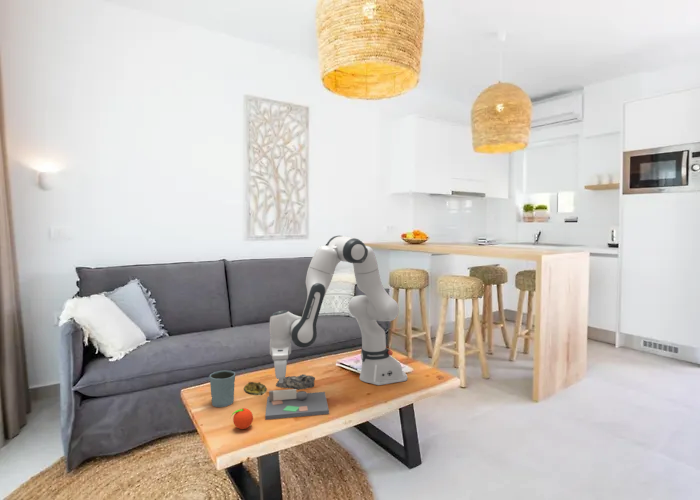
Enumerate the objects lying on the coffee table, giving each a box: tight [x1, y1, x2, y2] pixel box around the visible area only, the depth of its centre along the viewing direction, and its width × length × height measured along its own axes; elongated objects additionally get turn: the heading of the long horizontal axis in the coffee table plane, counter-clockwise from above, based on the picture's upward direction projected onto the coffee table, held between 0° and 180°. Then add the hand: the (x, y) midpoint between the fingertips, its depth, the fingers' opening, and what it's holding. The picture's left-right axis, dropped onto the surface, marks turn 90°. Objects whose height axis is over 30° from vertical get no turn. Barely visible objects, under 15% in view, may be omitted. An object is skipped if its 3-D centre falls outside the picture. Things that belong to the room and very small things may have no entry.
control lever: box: [268, 388, 308, 401], centre depth 167 cm, size 15×4×4 cm, turn 99°
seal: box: [243, 381, 268, 396], centre depth 182 cm, size 9×5×15 cm
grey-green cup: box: [209, 369, 236, 408], centre depth 169 cm, size 10×10×12 cm
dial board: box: [264, 391, 330, 421], centre depth 164 cm, size 24×18×2 cm
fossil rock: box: [275, 374, 316, 391], centre depth 188 cm, size 19×4×15 cm
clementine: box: [229, 407, 254, 430], centre depth 147 cm, size 8×7×7 cm
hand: (280, 381), depth 172 cm, fingers closed
